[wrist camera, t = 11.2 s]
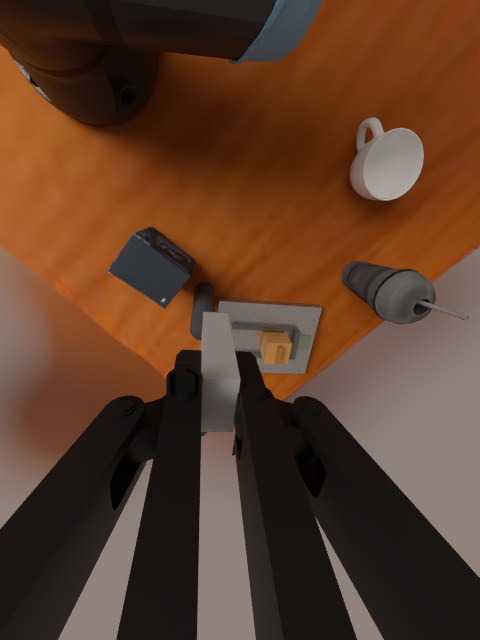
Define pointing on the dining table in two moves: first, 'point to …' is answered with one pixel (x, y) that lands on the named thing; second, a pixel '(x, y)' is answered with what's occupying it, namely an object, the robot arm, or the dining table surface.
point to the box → (153, 266)
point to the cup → (385, 162)
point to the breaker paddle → (275, 348)
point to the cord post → (201, 308)
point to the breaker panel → (272, 329)
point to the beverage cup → (393, 292)
